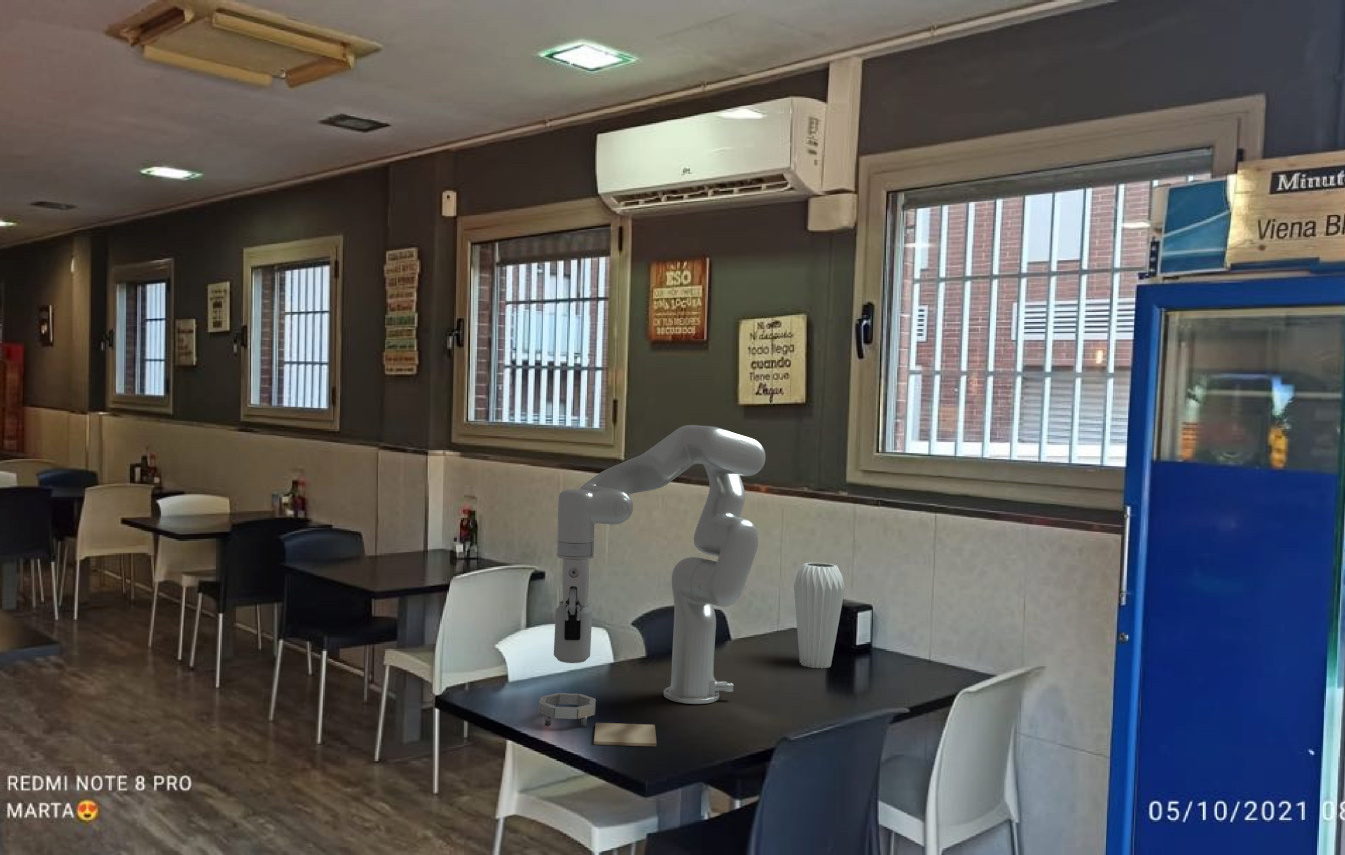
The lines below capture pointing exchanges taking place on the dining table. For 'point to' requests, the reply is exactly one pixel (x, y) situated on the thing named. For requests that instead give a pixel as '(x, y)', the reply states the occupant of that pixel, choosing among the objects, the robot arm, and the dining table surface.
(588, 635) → the can
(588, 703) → the ring stand
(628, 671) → the dining table surface
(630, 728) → the cork pad
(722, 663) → the dining table surface
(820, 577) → the vase
